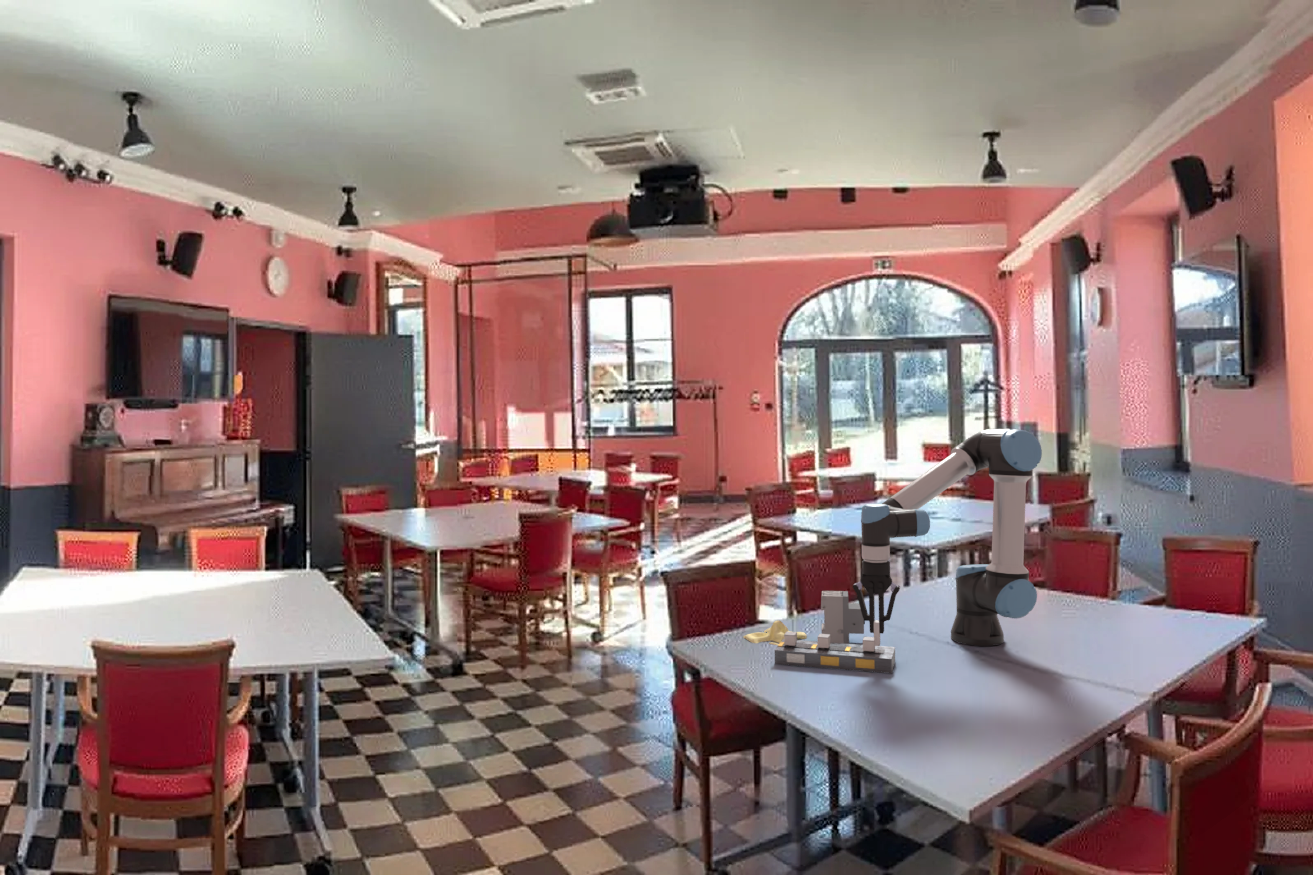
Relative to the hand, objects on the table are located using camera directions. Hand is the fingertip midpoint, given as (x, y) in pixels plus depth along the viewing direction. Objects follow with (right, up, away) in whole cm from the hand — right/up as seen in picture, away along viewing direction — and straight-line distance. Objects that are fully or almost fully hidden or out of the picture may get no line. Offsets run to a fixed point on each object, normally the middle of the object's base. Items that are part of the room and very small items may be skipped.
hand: (877, 644), depth 234 cm
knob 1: (-23, -2, +9) cm, 24 cm away
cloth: (-22, -7, +31) cm, 39 cm away
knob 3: (-2, -2, +1) cm, 3 cm away
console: (-11, -6, +4) cm, 13 cm away
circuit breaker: (-3, -6, +25) cm, 26 cm away
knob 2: (-14, -2, +5) cm, 15 cm away
